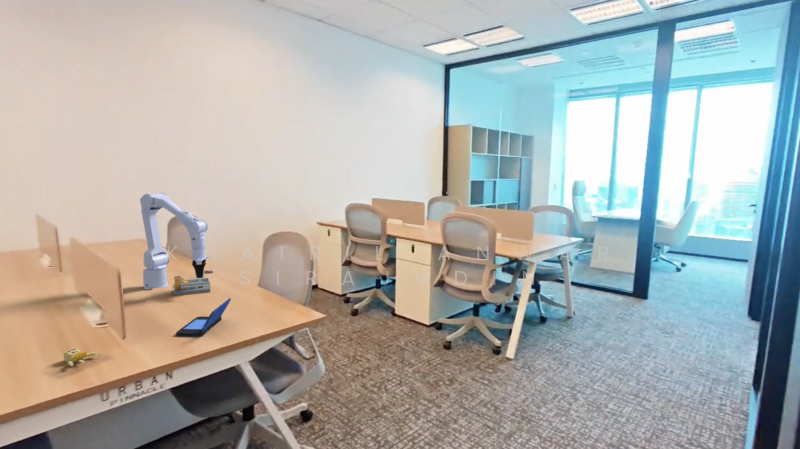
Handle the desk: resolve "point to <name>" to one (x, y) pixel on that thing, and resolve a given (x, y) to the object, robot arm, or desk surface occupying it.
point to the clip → (179, 282)
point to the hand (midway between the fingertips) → (199, 276)
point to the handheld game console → (203, 322)
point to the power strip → (192, 289)
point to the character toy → (76, 356)
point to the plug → (203, 275)
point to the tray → (197, 282)
